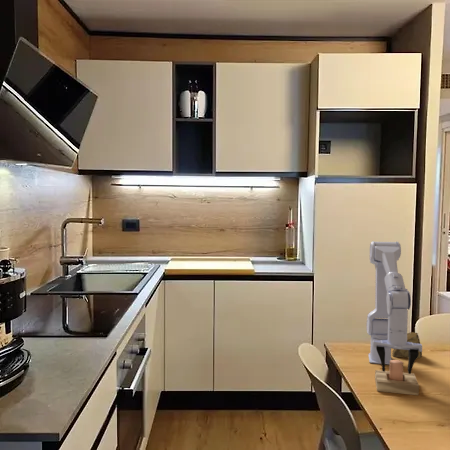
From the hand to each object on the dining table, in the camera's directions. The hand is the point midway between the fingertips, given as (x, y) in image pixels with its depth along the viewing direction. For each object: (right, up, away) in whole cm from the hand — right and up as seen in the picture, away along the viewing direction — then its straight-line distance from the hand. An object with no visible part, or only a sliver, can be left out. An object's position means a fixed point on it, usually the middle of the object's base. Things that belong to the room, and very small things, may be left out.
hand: (396, 371), depth 150 cm
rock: (+15, -4, +30) cm, 33 cm away
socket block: (0, -5, 0) cm, 5 cm away
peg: (0, -5, 0) cm, 5 cm away
